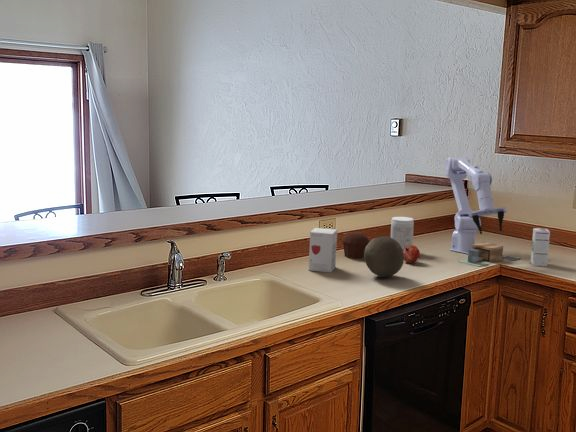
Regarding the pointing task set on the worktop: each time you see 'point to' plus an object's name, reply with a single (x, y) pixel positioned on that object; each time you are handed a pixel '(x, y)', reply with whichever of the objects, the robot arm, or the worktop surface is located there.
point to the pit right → (510, 258)
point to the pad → (474, 263)
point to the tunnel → (491, 250)
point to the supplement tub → (402, 230)
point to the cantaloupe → (384, 256)
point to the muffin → (355, 245)
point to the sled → (478, 255)
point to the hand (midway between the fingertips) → (490, 231)
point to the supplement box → (322, 249)
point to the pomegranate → (411, 254)
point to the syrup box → (540, 247)
